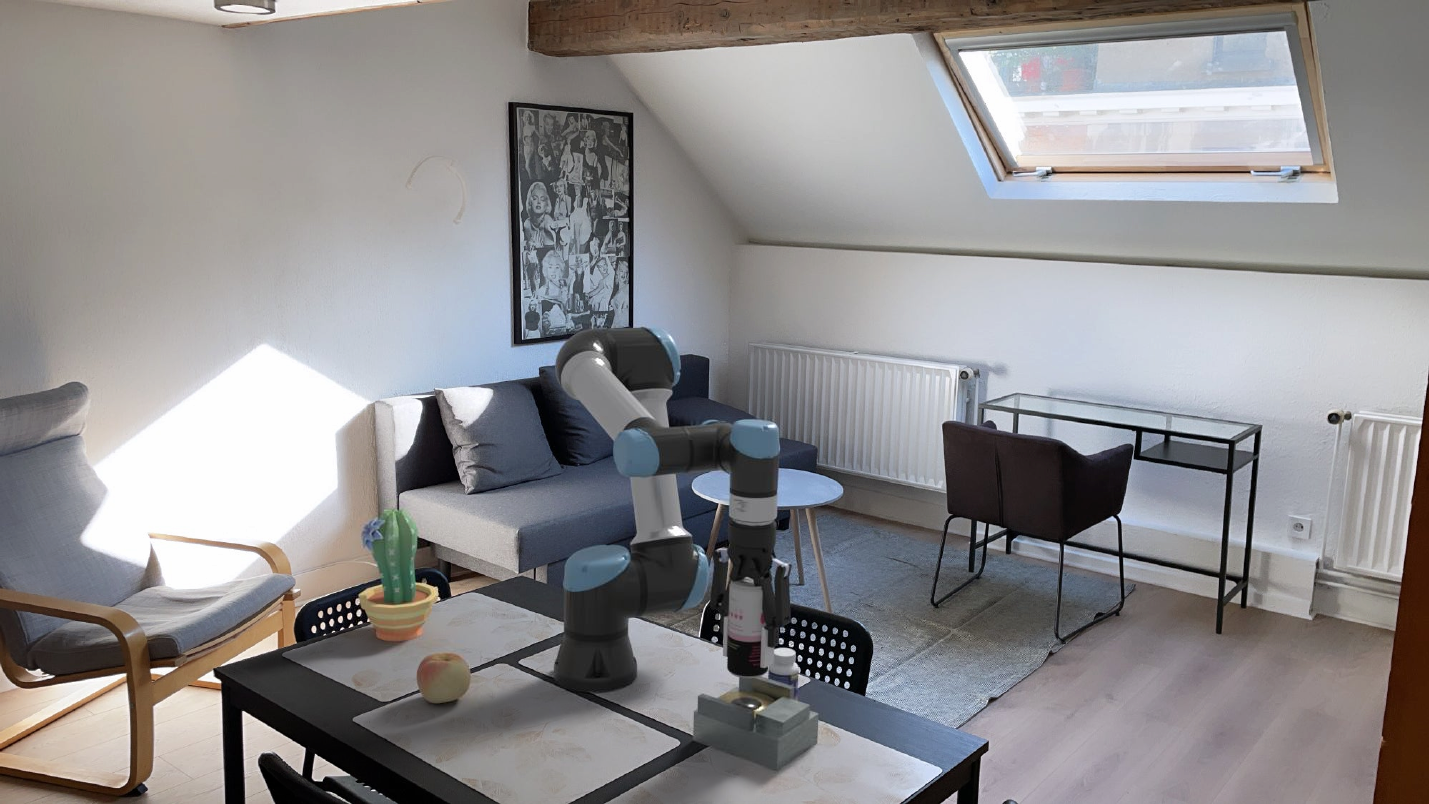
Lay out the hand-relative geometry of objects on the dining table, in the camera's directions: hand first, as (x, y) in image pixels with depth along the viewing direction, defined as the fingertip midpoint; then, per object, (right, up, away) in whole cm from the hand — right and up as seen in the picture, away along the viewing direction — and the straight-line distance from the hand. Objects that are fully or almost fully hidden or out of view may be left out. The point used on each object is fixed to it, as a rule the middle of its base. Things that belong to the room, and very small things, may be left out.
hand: (748, 659), depth 176 cm
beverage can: (0, -2, 0) cm, 2 cm away
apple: (-52, -10, +13) cm, 54 cm away
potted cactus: (-68, -5, +43) cm, 81 cm away
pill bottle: (+7, -11, +17) cm, 21 cm away
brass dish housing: (+1, -14, +1) cm, 14 cm away
